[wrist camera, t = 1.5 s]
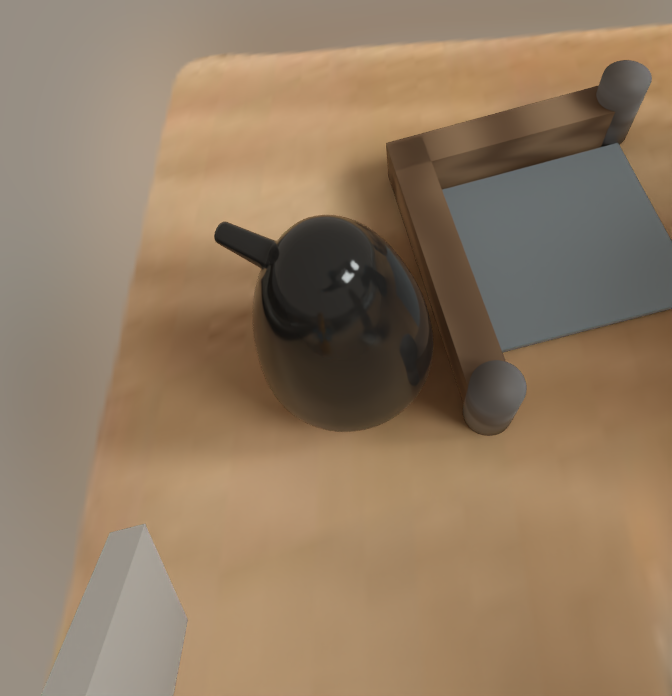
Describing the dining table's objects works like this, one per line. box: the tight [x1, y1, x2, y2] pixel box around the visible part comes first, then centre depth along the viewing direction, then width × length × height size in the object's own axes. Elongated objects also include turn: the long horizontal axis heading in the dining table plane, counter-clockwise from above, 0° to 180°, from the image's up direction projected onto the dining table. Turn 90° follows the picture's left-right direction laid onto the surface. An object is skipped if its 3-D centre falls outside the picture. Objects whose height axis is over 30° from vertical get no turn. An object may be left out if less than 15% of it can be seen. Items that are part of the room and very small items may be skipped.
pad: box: [442, 143, 672, 352], centre depth 40 cm, size 13×13×1 cm
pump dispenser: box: [214, 215, 433, 432], centre depth 32 cm, size 10×10×15 cm
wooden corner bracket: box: [386, 60, 652, 436], centre depth 37 cm, size 18×21×5 cm
